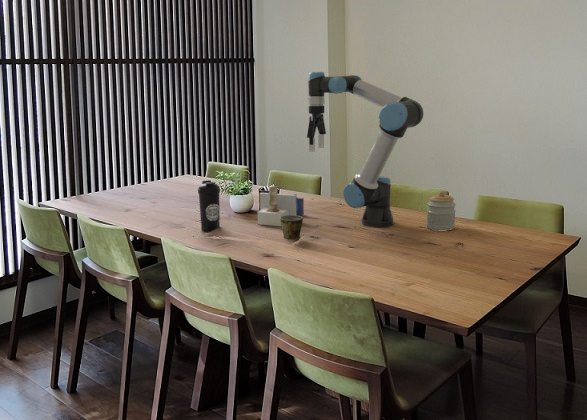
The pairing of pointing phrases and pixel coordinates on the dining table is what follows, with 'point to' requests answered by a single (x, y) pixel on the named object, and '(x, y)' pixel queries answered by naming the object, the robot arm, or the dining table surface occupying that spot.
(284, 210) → the sliding block
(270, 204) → the dowel
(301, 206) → the flask
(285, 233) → the ceramic cup
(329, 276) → the dining table surface
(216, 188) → the water bottle
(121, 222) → the dining table surface
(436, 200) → the jar
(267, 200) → the backstop wall
